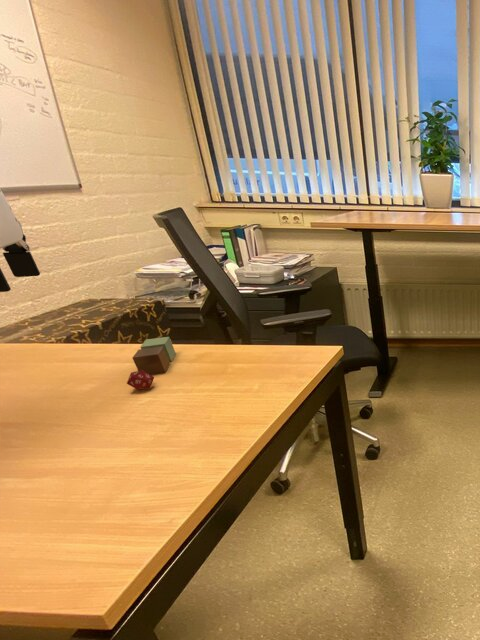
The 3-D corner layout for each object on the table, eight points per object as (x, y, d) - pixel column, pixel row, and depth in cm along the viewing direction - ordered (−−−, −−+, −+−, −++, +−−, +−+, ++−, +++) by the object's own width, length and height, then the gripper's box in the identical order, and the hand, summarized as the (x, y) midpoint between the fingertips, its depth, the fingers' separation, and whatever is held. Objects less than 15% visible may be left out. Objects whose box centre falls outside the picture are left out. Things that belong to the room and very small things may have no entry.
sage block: (148, 364, 95) (140, 346, 92) (153, 357, 98) (145, 339, 96) (171, 361, 96) (164, 343, 94) (176, 353, 100) (169, 336, 98)
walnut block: (140, 376, 90) (132, 357, 88) (146, 367, 93) (138, 349, 91) (165, 372, 91) (157, 354, 89) (170, 364, 95) (163, 346, 93)
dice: (130, 388, 85) (122, 371, 83) (157, 382, 88) (150, 365, 86) (131, 396, 83) (122, 378, 81) (158, 389, 85) (151, 371, 83)
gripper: (-46, 163, 65) (9, 272, 73) (-134, 166, 51) (-55, 301, 59) (20, 164, 68) (65, 269, 76) (-47, 169, 54) (17, 296, 62)
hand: (13, 283), depth 67 cm, fingers open, 9 cm apart
